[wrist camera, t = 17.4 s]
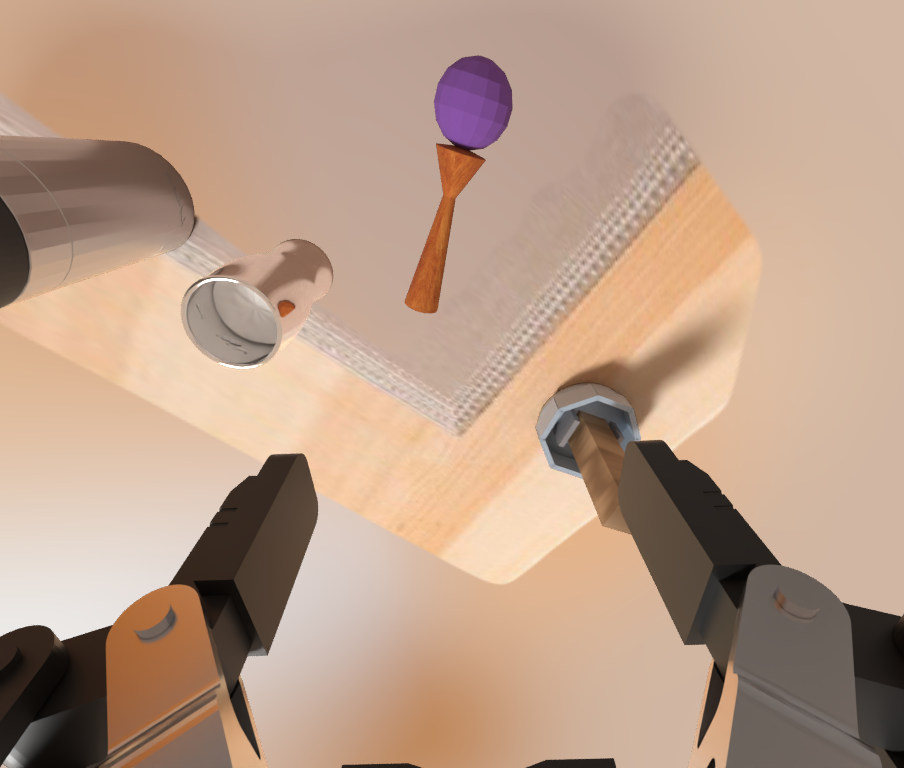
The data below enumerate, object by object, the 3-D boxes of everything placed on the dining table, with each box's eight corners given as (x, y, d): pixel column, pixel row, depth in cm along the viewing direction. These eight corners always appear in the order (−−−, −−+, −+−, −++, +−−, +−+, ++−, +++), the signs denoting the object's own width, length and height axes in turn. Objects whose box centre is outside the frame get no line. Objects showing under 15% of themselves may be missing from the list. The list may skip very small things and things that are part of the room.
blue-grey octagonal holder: (596, 467, 53) (606, 489, 49) (521, 441, 51) (527, 462, 47) (644, 400, 48) (659, 420, 45) (564, 370, 46) (574, 387, 43)
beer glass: (331, 314, 43) (279, 383, 30) (262, 294, 42) (176, 356, 29) (343, 246, 40) (291, 290, 27) (269, 223, 39) (176, 257, 26)
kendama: (382, 305, 39) (437, 36, 28) (401, 286, 44) (454, 53, 33) (443, 326, 39) (521, 64, 28) (455, 305, 44) (525, 77, 33)
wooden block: (589, 441, 50) (635, 535, 37) (564, 433, 49) (602, 525, 37) (605, 419, 48) (658, 509, 36) (578, 410, 48) (623, 498, 35)
